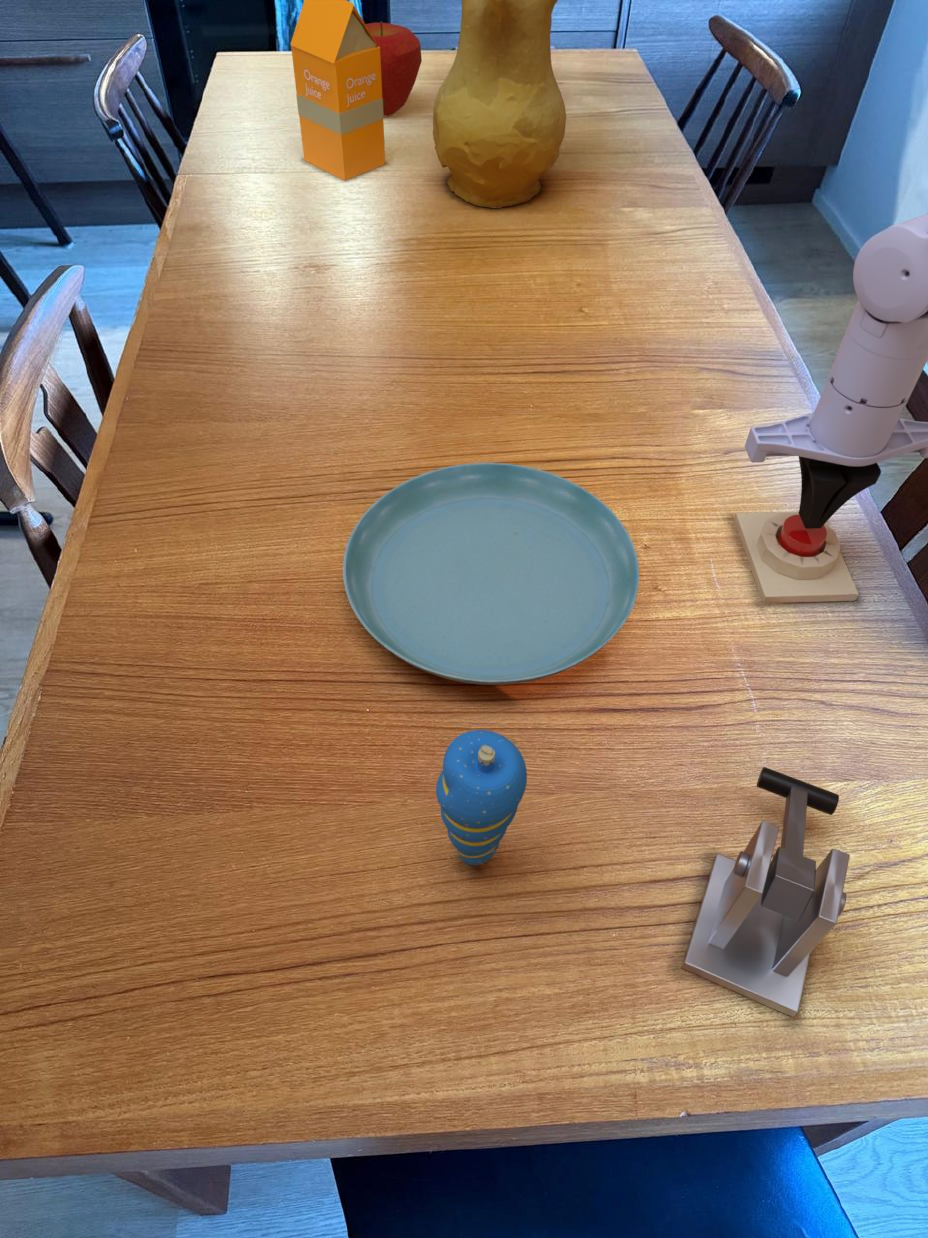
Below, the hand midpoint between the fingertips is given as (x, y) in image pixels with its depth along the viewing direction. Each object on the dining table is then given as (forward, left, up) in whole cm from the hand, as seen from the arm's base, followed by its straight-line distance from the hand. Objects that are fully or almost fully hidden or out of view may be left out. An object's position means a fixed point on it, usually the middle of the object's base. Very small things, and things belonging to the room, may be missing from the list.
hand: (809, 520), depth 75 cm
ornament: (+14, +37, -5) cm, 40 cm away
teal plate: (+23, +14, -5) cm, 27 cm away
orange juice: (+73, -50, -5) cm, 88 cm away
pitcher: (+51, -54, -5) cm, 74 cm away
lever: (-4, +31, 0) cm, 31 cm away
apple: (+76, -68, -5) cm, 102 cm away
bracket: (-4, +34, -5) cm, 35 cm away
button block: (0, 0, -5) cm, 5 cm away
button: (0, 0, -3) cm, 3 cm away
